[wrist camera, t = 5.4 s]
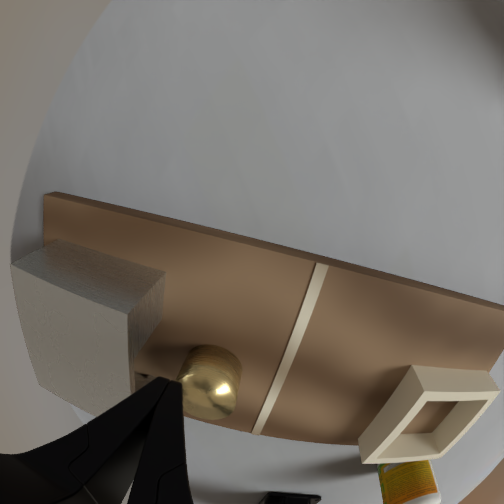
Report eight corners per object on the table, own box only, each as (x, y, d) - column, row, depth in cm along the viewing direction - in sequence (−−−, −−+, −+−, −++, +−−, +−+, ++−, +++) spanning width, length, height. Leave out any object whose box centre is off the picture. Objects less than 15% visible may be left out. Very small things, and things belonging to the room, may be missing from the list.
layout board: (427, 434, 19) (430, 444, 18) (68, 357, 20) (60, 365, 19) (513, 308, 14) (522, 316, 13) (56, 191, 15) (42, 195, 14)
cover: (158, 387, 18) (134, 433, 14) (70, 350, 18) (39, 384, 14) (166, 271, 15) (127, 314, 10) (59, 238, 15) (10, 264, 11)
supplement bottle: (367, 461, 21) (378, 542, 12) (416, 436, 19) (440, 519, 10) (388, 473, 22) (399, 543, 13) (431, 450, 20) (452, 521, 11)
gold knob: (236, 392, 17) (229, 425, 14) (183, 378, 17) (170, 408, 14) (248, 353, 16) (241, 387, 13) (188, 337, 16) (172, 368, 13)
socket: (433, 437, 18) (440, 457, 15) (357, 439, 18) (361, 463, 15) (486, 370, 15) (500, 390, 13) (411, 364, 15) (424, 391, 13)
